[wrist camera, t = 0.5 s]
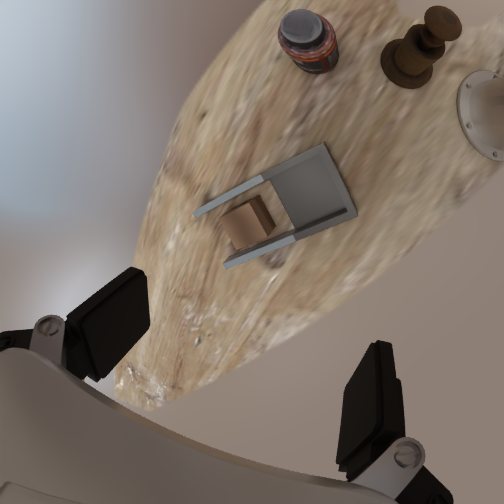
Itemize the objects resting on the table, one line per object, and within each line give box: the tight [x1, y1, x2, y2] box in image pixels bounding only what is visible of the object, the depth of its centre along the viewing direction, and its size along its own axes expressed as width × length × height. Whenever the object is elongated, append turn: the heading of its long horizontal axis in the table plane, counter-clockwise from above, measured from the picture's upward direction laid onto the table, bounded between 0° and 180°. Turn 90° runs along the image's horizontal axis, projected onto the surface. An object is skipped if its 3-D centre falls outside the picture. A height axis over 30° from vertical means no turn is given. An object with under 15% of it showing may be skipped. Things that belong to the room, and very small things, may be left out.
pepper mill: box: [381, 6, 462, 89], centre depth 17 cm, size 7×6×18 cm
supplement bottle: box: [278, 9, 339, 74], centre depth 24 cm, size 6×6×11 cm
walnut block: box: [219, 195, 276, 250], centre depth 39 cm, size 5×5×4 cm
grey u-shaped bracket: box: [193, 142, 358, 269], centre depth 38 cm, size 21×10×2 cm, turn 120°
